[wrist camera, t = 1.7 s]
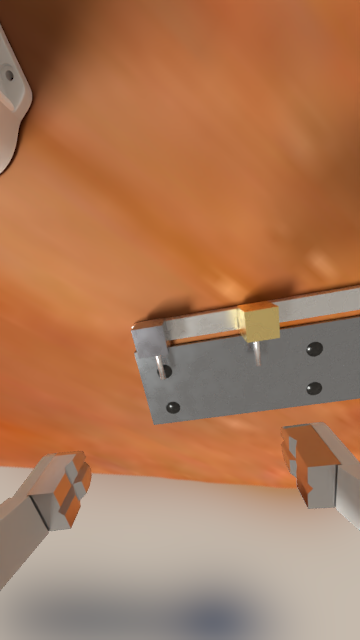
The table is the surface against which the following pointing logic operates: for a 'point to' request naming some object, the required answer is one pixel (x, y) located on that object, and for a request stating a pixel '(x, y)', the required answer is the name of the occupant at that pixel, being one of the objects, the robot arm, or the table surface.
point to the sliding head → (258, 324)
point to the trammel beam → (235, 320)
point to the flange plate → (255, 372)
